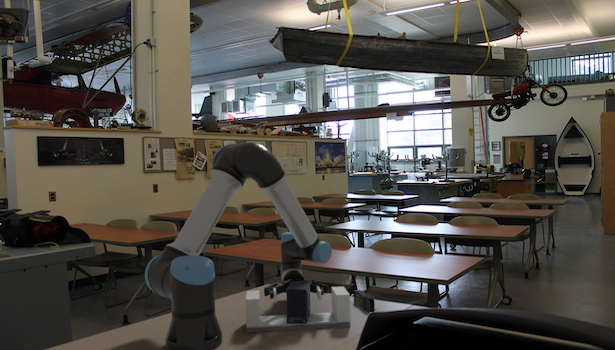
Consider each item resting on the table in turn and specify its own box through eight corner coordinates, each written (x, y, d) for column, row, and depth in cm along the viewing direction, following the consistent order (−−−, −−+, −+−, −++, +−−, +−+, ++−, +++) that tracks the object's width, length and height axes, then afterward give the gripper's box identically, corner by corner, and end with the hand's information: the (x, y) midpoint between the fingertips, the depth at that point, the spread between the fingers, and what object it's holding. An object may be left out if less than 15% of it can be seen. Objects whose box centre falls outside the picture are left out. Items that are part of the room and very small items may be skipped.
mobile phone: (351, 289, 161) (370, 298, 146) (359, 288, 162) (378, 297, 147) (352, 303, 161) (371, 314, 146) (360, 302, 162) (379, 313, 147)
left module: (246, 326, 131) (245, 299, 131) (247, 316, 141) (246, 291, 141) (260, 326, 132) (259, 298, 132) (260, 315, 142) (259, 290, 142)
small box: (307, 324, 132) (307, 288, 132) (286, 324, 133) (285, 288, 133) (311, 313, 143) (310, 280, 143) (291, 313, 144) (290, 280, 144)
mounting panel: (246, 332, 131) (246, 326, 131) (247, 321, 141) (247, 316, 141) (350, 326, 134) (350, 321, 134) (344, 316, 144) (344, 311, 144)
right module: (337, 321, 134) (336, 295, 134) (332, 311, 144) (331, 287, 144) (350, 321, 134) (349, 294, 134) (344, 311, 144) (343, 286, 144)
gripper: (328, 289, 157) (339, 307, 136) (257, 293, 155) (256, 311, 134) (328, 268, 157) (338, 282, 136) (257, 271, 155) (255, 286, 134)
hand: (297, 297), depth 135 cm, fingers open, 13 cm apart
